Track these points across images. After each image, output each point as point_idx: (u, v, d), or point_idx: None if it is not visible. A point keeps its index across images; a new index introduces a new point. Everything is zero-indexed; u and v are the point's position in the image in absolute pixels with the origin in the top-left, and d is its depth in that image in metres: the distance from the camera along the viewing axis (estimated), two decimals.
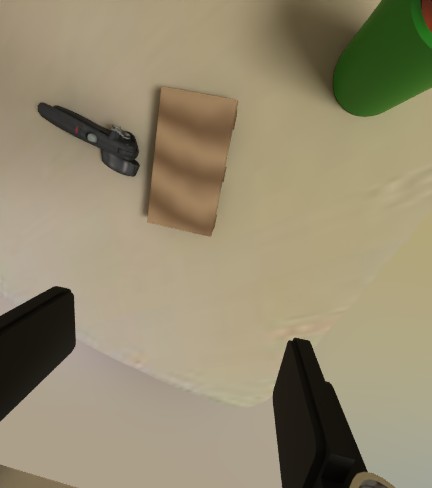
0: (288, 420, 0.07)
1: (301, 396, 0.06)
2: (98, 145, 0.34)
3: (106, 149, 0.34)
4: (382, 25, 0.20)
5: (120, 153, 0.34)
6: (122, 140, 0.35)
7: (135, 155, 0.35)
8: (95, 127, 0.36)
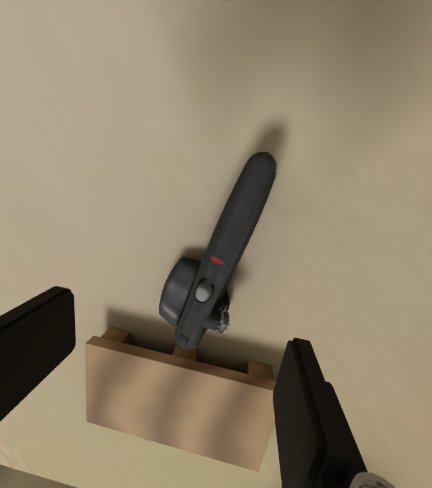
0: (288, 420, 0.07)
1: (301, 396, 0.06)
2: (192, 298, 0.18)
3: (186, 311, 0.18)
4: None
5: (180, 338, 0.19)
6: None
7: None
8: None
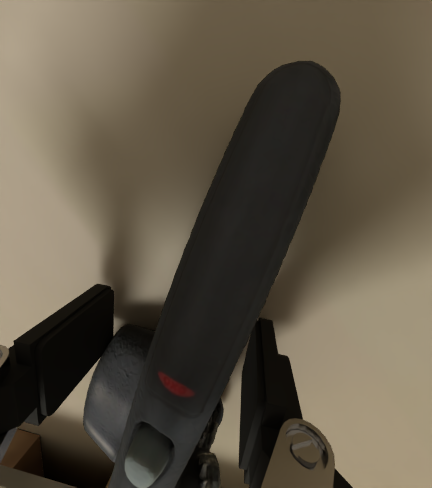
0: (247, 387, 0.08)
1: (255, 363, 0.07)
2: (123, 465, 0.07)
3: (113, 486, 0.07)
4: None
5: None
6: None
7: None
8: None
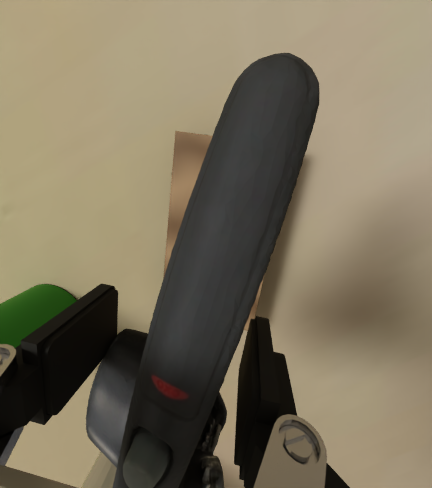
0: (243, 385, 0.08)
1: (250, 361, 0.07)
2: None
3: None
4: None
5: None
6: None
7: None
8: None
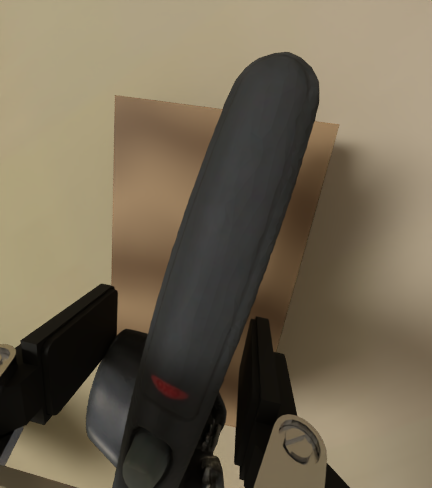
0: (243, 385, 0.08)
1: (250, 361, 0.07)
2: (123, 472, 0.07)
3: None
4: None
5: None
6: None
7: None
8: None
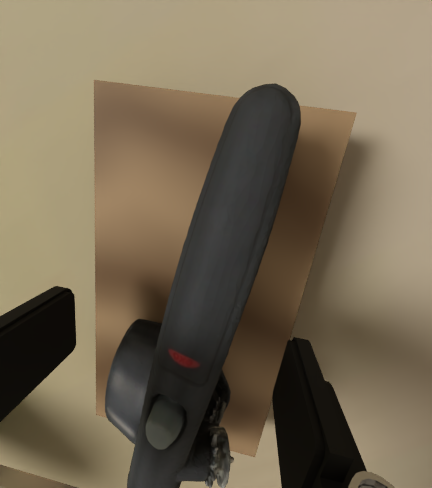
0: (288, 420, 0.07)
1: (300, 396, 0.06)
2: (144, 434, 0.08)
3: (137, 455, 0.09)
4: None
5: None
6: None
7: None
8: None
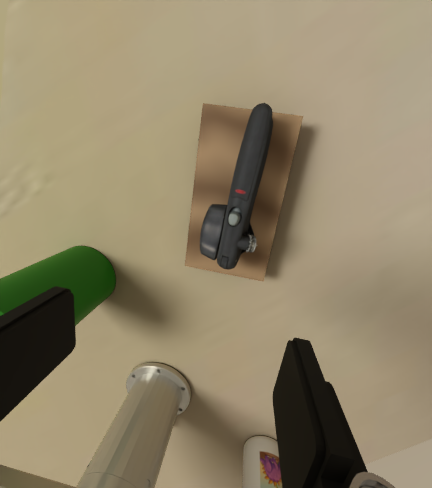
0: (288, 420, 0.07)
1: (301, 396, 0.06)
2: (226, 226, 0.24)
3: (223, 237, 0.24)
4: None
5: (221, 259, 0.25)
6: (240, 248, 0.26)
7: None
8: None
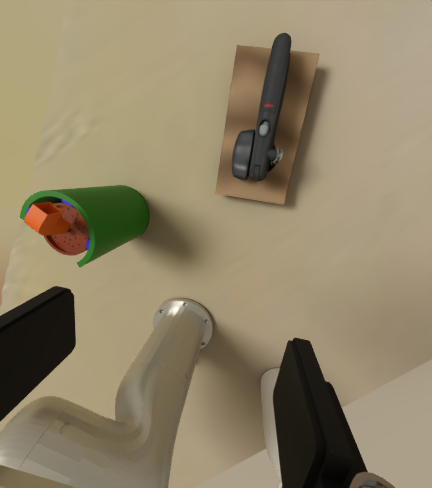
0: (288, 420, 0.07)
1: (301, 396, 0.06)
2: (257, 138, 0.29)
3: (255, 149, 0.29)
4: (110, 221, 0.31)
5: (254, 168, 0.30)
6: (268, 162, 0.31)
7: (256, 180, 0.32)
8: None
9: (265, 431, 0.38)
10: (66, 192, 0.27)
